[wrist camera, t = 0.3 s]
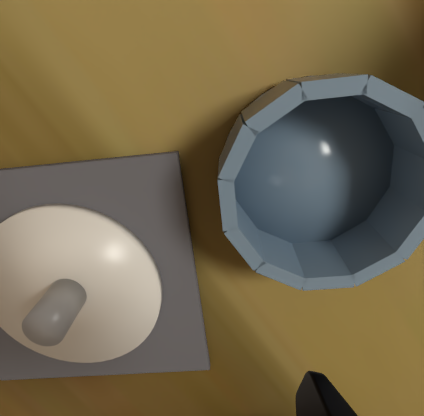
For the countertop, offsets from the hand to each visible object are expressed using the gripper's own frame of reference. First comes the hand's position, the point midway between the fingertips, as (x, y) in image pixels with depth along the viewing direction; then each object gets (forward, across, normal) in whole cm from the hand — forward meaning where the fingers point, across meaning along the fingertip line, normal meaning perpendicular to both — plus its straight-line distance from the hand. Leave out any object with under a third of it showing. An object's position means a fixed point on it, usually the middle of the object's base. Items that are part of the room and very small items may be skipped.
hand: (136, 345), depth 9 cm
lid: (+14, +7, +10) cm, 18 cm away
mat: (+14, +7, +10) cm, 18 cm away
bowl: (+14, -7, -3) cm, 16 cm away
